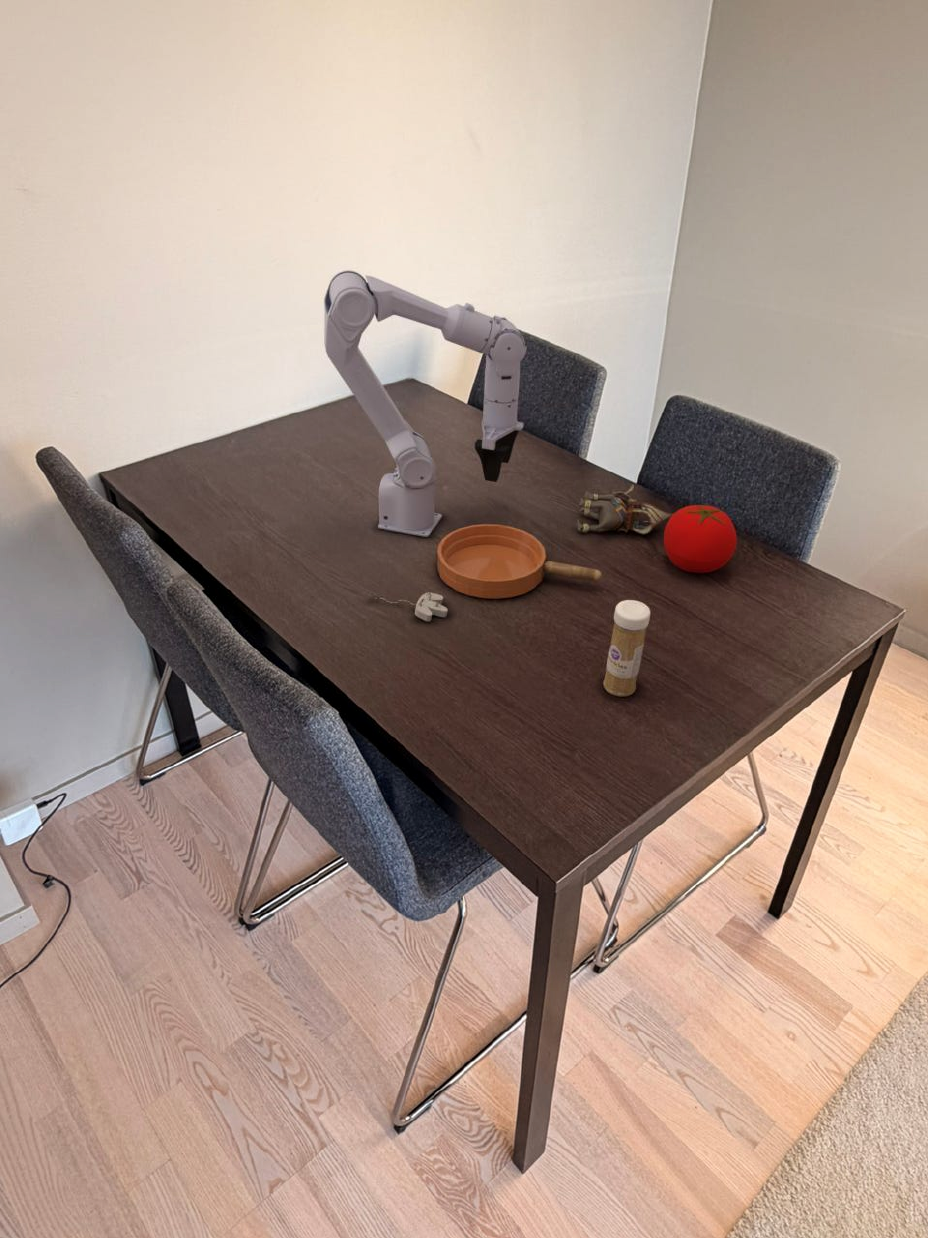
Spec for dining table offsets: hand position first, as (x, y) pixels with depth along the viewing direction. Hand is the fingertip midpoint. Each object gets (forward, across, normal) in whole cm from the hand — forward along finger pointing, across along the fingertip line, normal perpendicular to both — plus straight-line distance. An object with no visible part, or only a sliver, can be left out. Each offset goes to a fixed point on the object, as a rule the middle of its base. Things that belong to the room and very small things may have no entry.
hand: (497, 470), depth 153 cm
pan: (+9, -17, -4) cm, 20 cm away
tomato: (+10, -4, -36) cm, 37 cm away
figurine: (+10, +5, -23) cm, 25 cm away
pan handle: (+8, -17, -18) cm, 26 cm away
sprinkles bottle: (+10, -40, -29) cm, 50 cm away
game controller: (+10, -31, +5) cm, 33 cm away
